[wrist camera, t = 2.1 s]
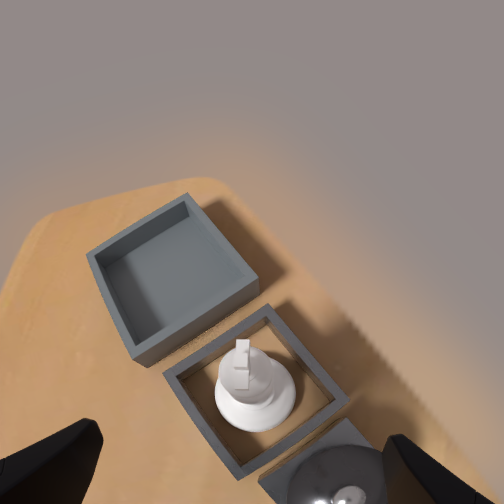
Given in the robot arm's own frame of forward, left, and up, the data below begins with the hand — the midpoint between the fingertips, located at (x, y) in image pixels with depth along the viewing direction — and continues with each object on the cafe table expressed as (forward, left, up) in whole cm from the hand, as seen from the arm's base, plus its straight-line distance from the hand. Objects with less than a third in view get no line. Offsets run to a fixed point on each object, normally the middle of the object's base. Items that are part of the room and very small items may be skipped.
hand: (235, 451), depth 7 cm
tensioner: (0, -2, -10) cm, 10 cm away
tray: (+10, +7, -10) cm, 16 cm away
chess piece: (+3, 0, -10) cm, 11 cm away
